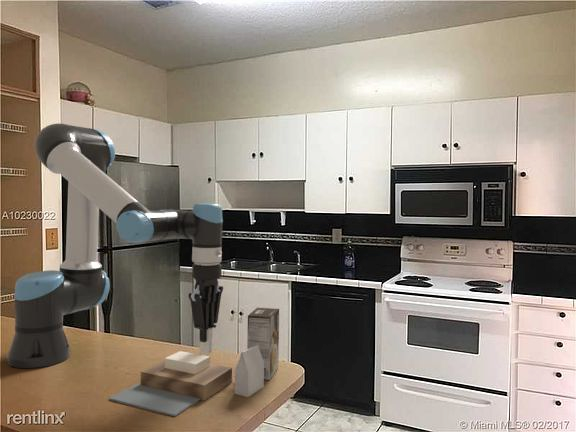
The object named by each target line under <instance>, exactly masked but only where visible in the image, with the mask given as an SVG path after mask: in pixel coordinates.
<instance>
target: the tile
mask: <svg viewBox="0 0 576 432" xmlns="http://www.w3.org/2000/svg"><path fill="white" fill-rule="evenodd" d="M164 360H165V368H168V369H172V370H177V371H182V372H187V373H192V374H197V373H199V372H201V371H202V370H204V369H206V368H207V367H209V366H210V364H211V356H208V355H205V354H204V355H203V354H197V353H192V352H187V351H182V350H179V351H178V352H175V353H173V354H170V355H169V356H166V357H165V358H164Z"/></svg>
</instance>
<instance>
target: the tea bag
mask: <svg viewBox="0 0 576 432" xmlns="http://www.w3.org/2000/svg"><path fill="white" fill-rule="evenodd" d="M264 386H265V379H264V361H263V358H262V356H261V353H260V350H259V345H255V346H253V347H251V348H249V349H246V350H245V349H244V350H243V351H240V356H239V360H238V361H237V364H236V366H235V368H234V394H235V395H238V396H243V397H246V398H249V397H250V396H252V395H254V394H255V393H256V392H259V391H260V390H261V389H263V388H265V387H264Z"/></svg>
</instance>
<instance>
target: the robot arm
mask: <svg viewBox="0 0 576 432" xmlns="http://www.w3.org/2000/svg"><path fill="white" fill-rule="evenodd" d="M115 149H116V148H115V145H114V143H113V140H112V139H111V138H110V137H109V135H108V134H107V133H105V132H104V131H100V130H98V129H95V128H91V127H84V126H77V125H71V124H65V123H62V122H61V123H60V122H59V123H52V124H49V125H47V126H44V127H43V128H42V129H41V130H39V132H38V134H37V135H36V137H35V139H34V151H35V154H36V157H37V158H38V160H39V161H40V162H41V164H42V165H43V166H44V167H45V168H47V169H48V170H49V171H50V172H51V173H53V174H56V175H57V174H59V175H61V176H62V177H63V178H64V179H65V180H66V181H67V182H68V183H67V185H68V186H67V210H66V211H67V212H66V235H65V238H66V241H65V242H66V244H65V260H64V261H63V262H62V263H61V264H59V270H50V269H49V270H43V271H35V272H31V273H28V274H25V275H23V276H20V277H19V278H18V279H17V280H16V282H15V284H14V285H15V286H14V294H13V298H14V335H13V338H12V341H11V344H10V347H9V350H8V352H7V356H6V357H7V358H6V362H8V363H7V365H8V364H9V365H8V366H10V365H11V366H10V367H12V366H14V367H13V368H17V369H18V368H19V369H35V368H44V367H47V366H48V367H49V366H52V365H57V364H58V363H59V364H60V363H61V362H64V361H66V360H67V359H68V358H69V357H70V356H71V354H70V353H71V347H70V344H69V342H68V339H67V336H66V333H65V331H64V325H63V324H64V316H65V315H69V314H73V313H76V312H77V313H78V312H81V311H87V310H91V309H92V308H95V307H98V306H100V305H101V304H102V303H103V302H104V301H106V299H107V297H108V295H109V292H110V287H111V285H110V284H111V283H110V278H109V277H107V276H108V275H107V272H105V270H103V265H102V264H101V263H100V262H99V261H98V243H99V241H98V240H99V238H98V237H99V217H100V215H99V213H100V210H101V211H102V213H104V214H105V215H106V216H107V217H108V218H109V219H111V221H113V222H115V227H116V232H117V234H118V237H119V238H120V239H121V240H122V241H124V242H126V243H129V244H131V243H132V244H133V243H134V244H143V243H146V242H147V243H149V242H154V241H162V240H163V241H164V240H172V239H183V240H184V239H185V240H186V239H187V240H192V252H191V253H192V254H191V261H192V263H193V264H192V265H191V267H192V268H191V269H192V271H191V277H192V278H193V279H194V280H195V284H194V290H193V292H190V293H188V298H189V299H188V300H189V302H190V307H191V314H192V321H193V328H194V329H198V330H199V354H201V355H203V354H204V355H207V356H208V355H211V354H212V352H213V350H212V347H213V344H212V343H213V329H215V328H216V327H217V323H218V320H219V315H220V314H219V313H220V307H221V298H222V294H223V291H224V286H220V285H219V281H218V280H219V279H221V278H222V266H223V265H222V264H221V262H222V256H223V255H222V254H223V252H222V247H223V244H222V243H223V242H222V241H223V239H222V238H223V223H224V219H223V208H222V206H221V205H220V204H219V203H194V204H193V207H192V210H183V209H181V210H180V209H172V208H170V209H158V210H150V209H148V208H147V207H145V206H144V205H143V204H141V203H140V202H139V201H138V200H137V199H135V198H134V196H133V195H132V194H131V193H130V194H129V192H127V191H126V190H125V189H124V188H123V187H121V185H119V184H118V183H117V182H116V181H114V180H113V178H111V177H110V176H108V174H106V173H107V169H109V168H110V167H111V166H112V163H114V161H115V157H116V150H115Z"/></svg>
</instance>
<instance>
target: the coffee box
mask: <svg viewBox="0 0 576 432" xmlns="http://www.w3.org/2000/svg"><path fill="white" fill-rule="evenodd" d="M279 336H280V308H271V307H270V308H269V307H267V308H266V307H256V308H255V309H253V311H251V312H250V313H249V314H248V315H247V337H246V338H247V340H246V341H247V349H249V348H251V347H253V346H255V345H259V350H260V353H261V356H262V358H263V361H264V380H268V381H269V380H271V379H272V378H273V376H274V374H275V373H276V371H277V369H278V368H279V350H280V348H279V343H280V341H279V339H280V337H279ZM247 349H246V350H247Z"/></svg>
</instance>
